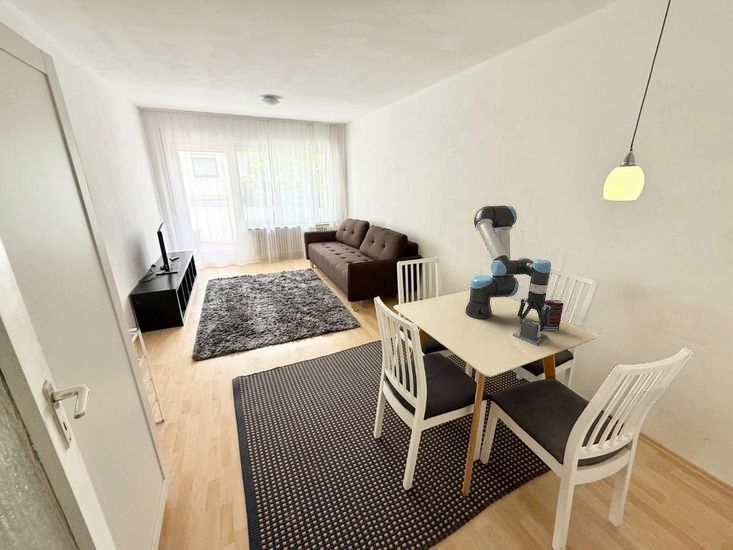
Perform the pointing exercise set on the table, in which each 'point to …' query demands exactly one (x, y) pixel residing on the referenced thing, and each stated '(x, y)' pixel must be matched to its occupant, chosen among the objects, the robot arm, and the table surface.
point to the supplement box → (553, 314)
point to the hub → (532, 341)
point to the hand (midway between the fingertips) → (530, 333)
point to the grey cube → (529, 328)
